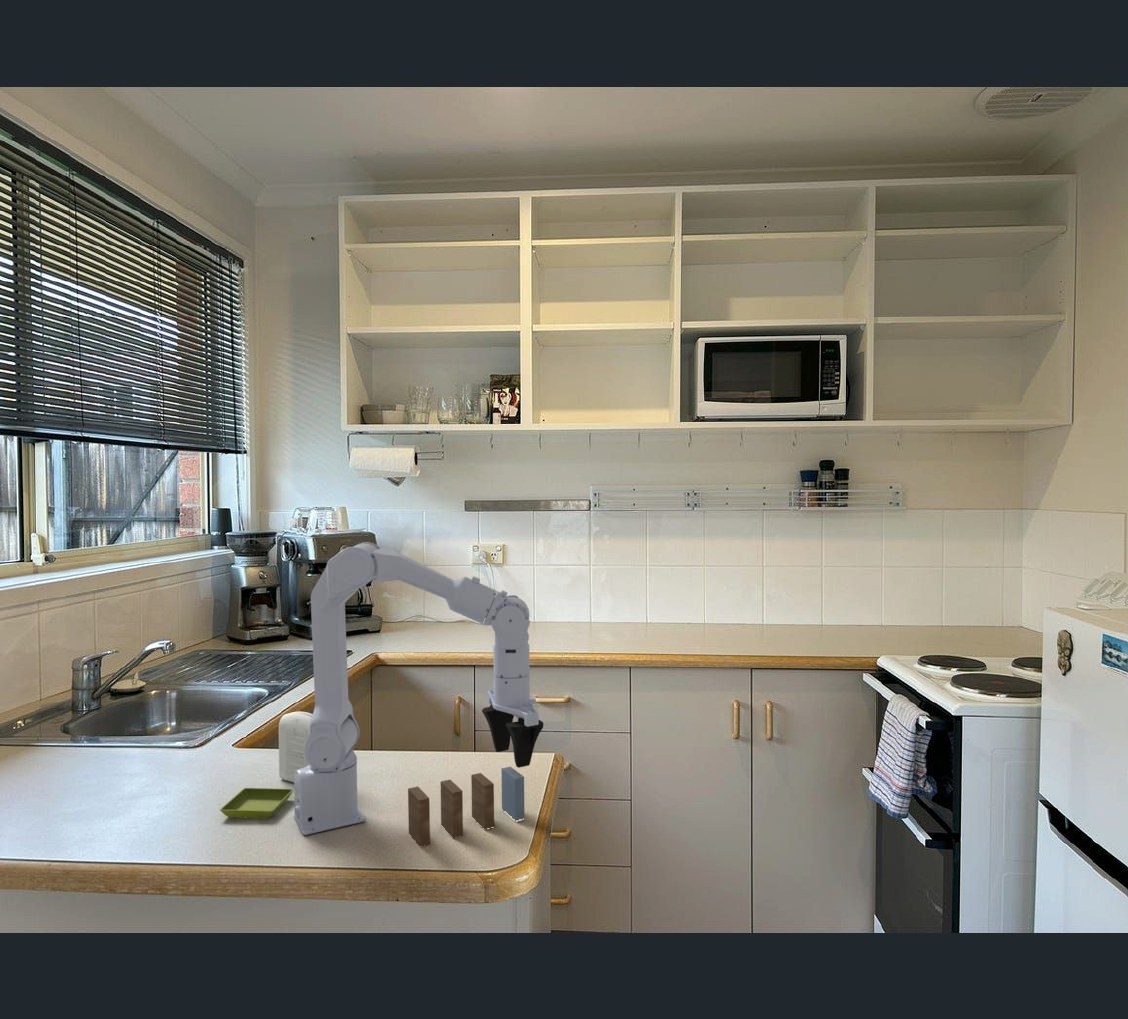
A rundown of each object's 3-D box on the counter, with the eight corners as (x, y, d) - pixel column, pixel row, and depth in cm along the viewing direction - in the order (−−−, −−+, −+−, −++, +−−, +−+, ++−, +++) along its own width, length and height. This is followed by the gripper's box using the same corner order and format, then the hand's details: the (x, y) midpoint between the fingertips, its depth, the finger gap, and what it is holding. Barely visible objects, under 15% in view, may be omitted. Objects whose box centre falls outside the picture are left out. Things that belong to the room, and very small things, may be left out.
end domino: (515, 822, 119) (515, 778, 119) (501, 810, 123) (501, 768, 123) (524, 820, 120) (524, 776, 120) (510, 808, 124) (510, 766, 124)
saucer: (294, 800, 129) (294, 788, 129) (272, 824, 120) (272, 811, 120) (244, 799, 129) (244, 787, 129) (218, 822, 120) (218, 810, 120)
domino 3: (484, 830, 117) (484, 785, 116) (471, 818, 121) (471, 774, 121) (494, 828, 117) (493, 783, 117) (481, 815, 122) (480, 772, 121)
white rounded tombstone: (334, 782, 135) (333, 713, 135) (316, 791, 132) (314, 720, 131) (294, 771, 140) (293, 705, 140) (275, 779, 137) (274, 711, 136)
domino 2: (452, 838, 114) (452, 793, 114) (441, 825, 118) (440, 781, 118) (462, 836, 115) (462, 790, 114) (450, 823, 119) (450, 779, 119)
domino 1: (419, 847, 111) (418, 800, 111) (408, 833, 116) (407, 788, 115) (430, 844, 112) (429, 798, 112) (418, 831, 116) (418, 786, 116)
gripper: (555, 680, 116) (556, 768, 117) (514, 661, 129) (514, 740, 130) (514, 687, 113) (515, 777, 113) (475, 666, 125) (476, 747, 126)
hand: (512, 758), depth 121 cm, fingers open, 7 cm apart
